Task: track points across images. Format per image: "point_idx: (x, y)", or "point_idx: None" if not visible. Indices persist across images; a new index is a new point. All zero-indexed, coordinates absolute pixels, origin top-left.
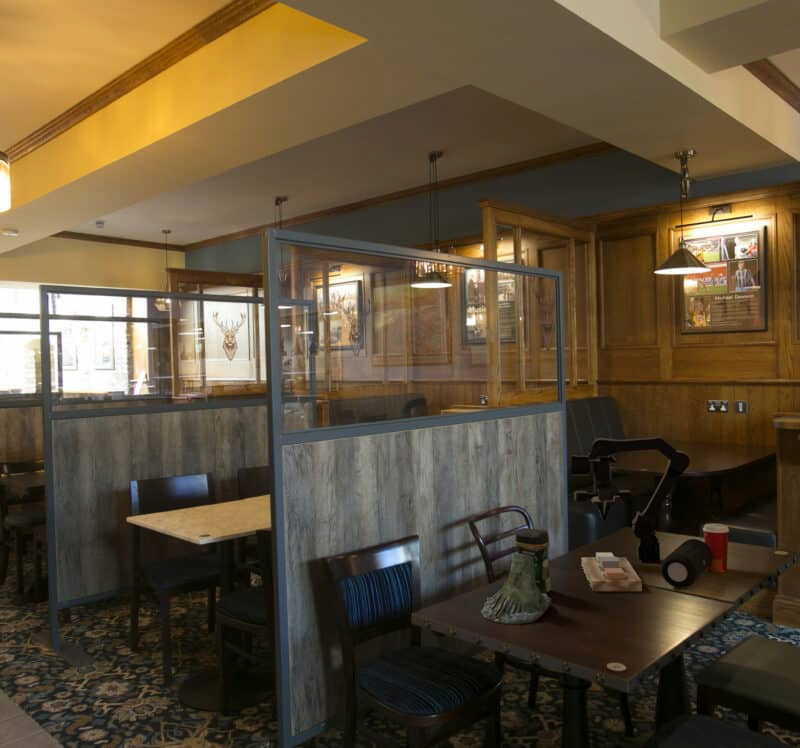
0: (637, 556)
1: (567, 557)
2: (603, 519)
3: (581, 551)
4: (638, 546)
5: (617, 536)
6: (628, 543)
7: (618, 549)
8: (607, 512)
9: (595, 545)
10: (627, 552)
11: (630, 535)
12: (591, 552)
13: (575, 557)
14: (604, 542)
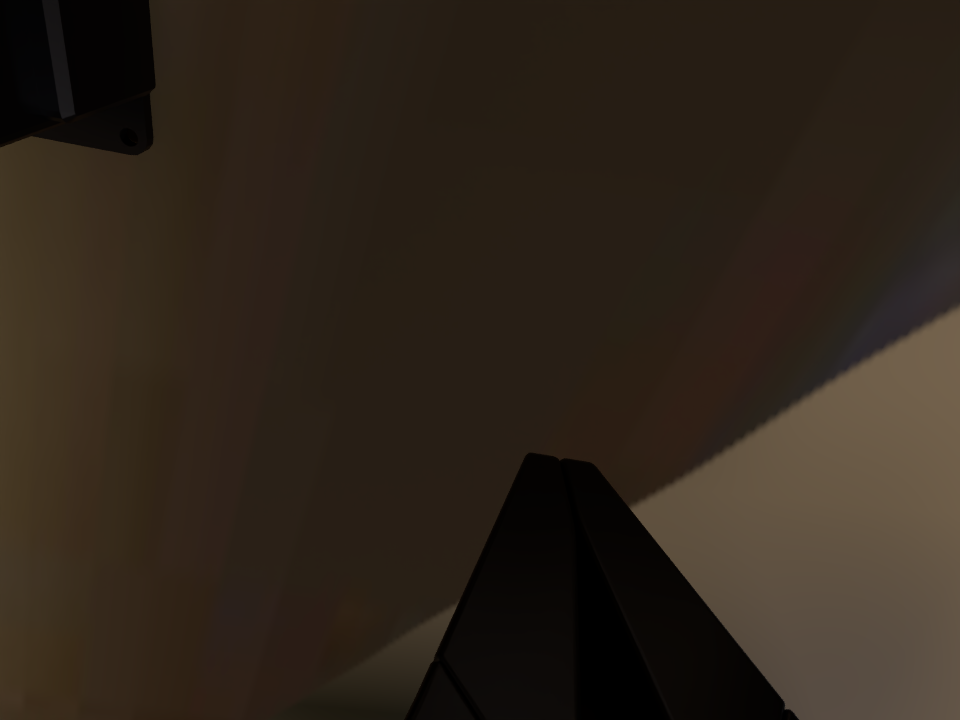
0: (147, 67)
1: (869, 322)
2: (588, 487)
3: (632, 468)
4: (44, 28)
5: (232, 712)
6: (180, 580)
7: (294, 461)
8: (470, 644)
9: (449, 583)
10: (232, 364)
11: (141, 714)
12: (561, 426)
13: (793, 306)
14: (356, 628)
